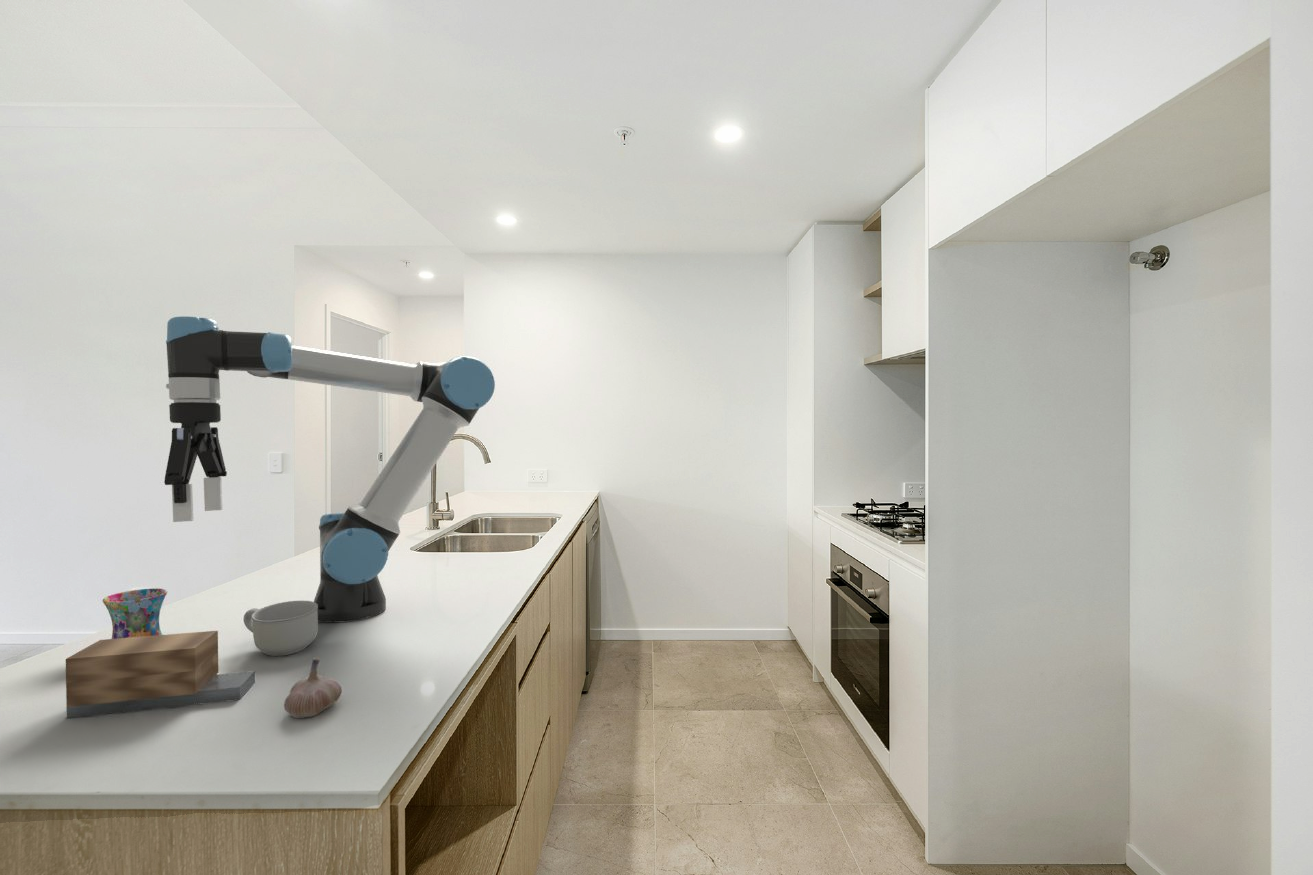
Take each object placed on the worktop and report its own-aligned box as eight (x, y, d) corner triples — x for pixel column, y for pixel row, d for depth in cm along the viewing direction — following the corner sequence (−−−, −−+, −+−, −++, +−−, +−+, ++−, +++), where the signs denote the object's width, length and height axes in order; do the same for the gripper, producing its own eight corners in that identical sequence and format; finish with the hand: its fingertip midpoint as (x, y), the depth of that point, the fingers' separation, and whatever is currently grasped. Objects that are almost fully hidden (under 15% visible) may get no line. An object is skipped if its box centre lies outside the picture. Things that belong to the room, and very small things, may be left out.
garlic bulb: (339, 695, 95) (339, 645, 95) (344, 714, 89) (343, 660, 89) (284, 707, 91) (283, 655, 91) (284, 727, 85) (283, 672, 85)
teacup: (331, 643, 117) (331, 603, 117) (280, 664, 107) (280, 620, 107) (279, 635, 122) (278, 596, 122) (225, 654, 112) (224, 612, 111)
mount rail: (255, 682, 100) (254, 655, 99) (240, 699, 93) (239, 670, 93) (94, 698, 93) (93, 669, 93) (66, 718, 87) (66, 687, 87)
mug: (153, 656, 111) (153, 599, 110) (91, 662, 108) (90, 603, 108) (183, 634, 122) (182, 583, 122) (127, 639, 119) (127, 586, 119)
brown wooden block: (218, 672, 99) (217, 630, 99) (195, 693, 91) (194, 647, 91) (100, 683, 94) (100, 639, 94) (66, 706, 87) (65, 658, 87)
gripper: (198, 403, 122) (202, 507, 122) (135, 399, 98) (141, 528, 99) (241, 403, 124) (245, 505, 125) (190, 399, 100) (195, 525, 101)
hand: (199, 515), depth 112 cm, fingers open, 13 cm apart
